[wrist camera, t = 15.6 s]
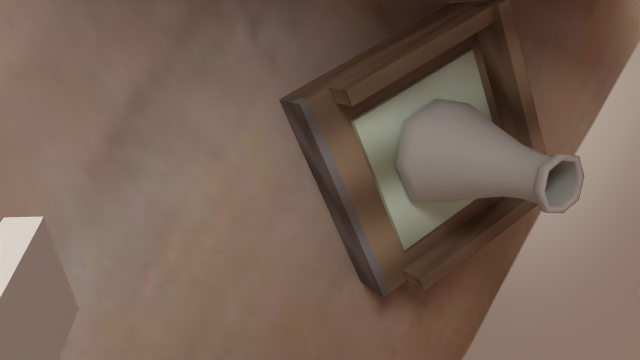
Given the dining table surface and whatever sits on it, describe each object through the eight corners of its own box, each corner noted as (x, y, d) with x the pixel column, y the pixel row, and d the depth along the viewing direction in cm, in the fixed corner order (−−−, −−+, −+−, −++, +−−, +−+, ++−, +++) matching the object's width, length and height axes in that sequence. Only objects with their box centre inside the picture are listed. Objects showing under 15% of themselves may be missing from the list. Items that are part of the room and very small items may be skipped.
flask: (480, 187, 39) (608, 227, 31) (398, 216, 36) (514, 270, 28) (475, 87, 37) (612, 100, 28) (387, 109, 34) (509, 132, 25)
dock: (279, 99, 34) (320, 108, 29) (450, 4, 39) (509, -2, 34) (360, 281, 40) (405, 312, 36) (499, 180, 45) (556, 196, 40)
